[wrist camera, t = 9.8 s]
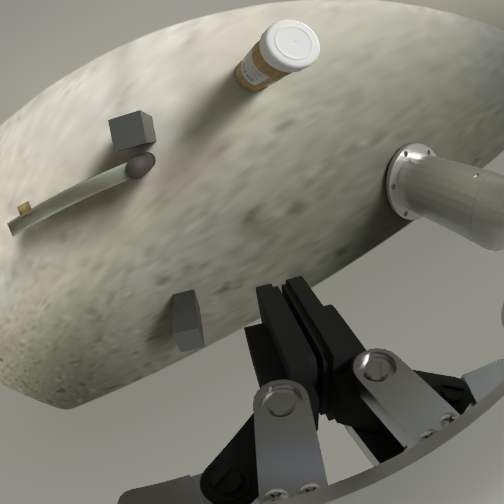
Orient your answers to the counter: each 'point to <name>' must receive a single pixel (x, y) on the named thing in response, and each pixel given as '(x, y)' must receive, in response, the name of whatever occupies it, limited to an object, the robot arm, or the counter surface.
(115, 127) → the grey rectangular blocks
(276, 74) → the sprinkles bottle
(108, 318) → the counter surface
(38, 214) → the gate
